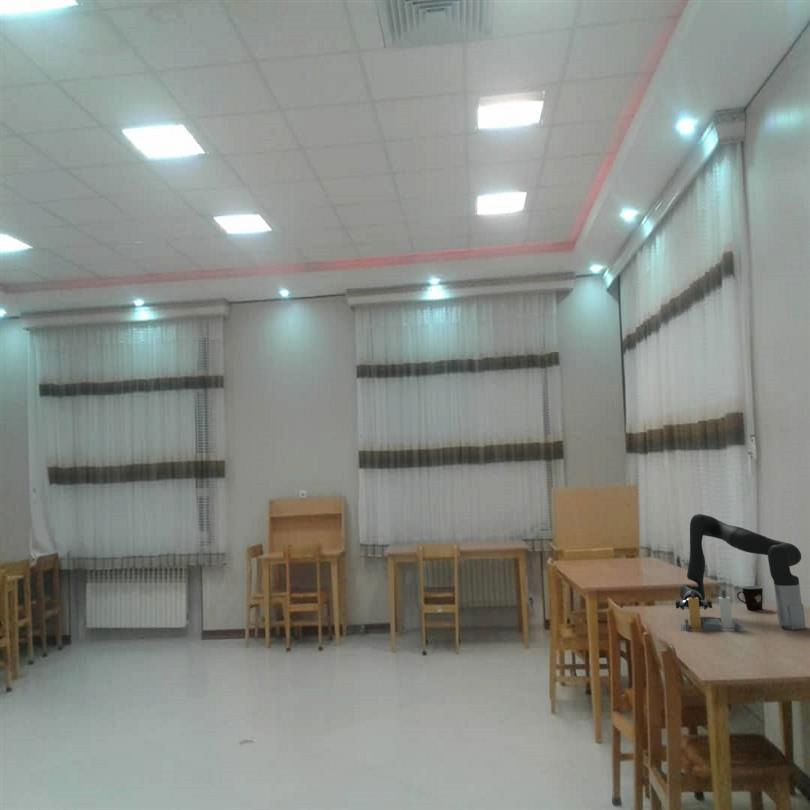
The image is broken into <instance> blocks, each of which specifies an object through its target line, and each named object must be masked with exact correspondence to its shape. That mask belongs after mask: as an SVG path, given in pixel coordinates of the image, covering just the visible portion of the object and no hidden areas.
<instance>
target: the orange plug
mask: <svg viewBox="0 0 810 810" xmlns="http://www.w3.org/2000/svg"><path fill="white" fill-rule="evenodd" d="M688 604H689V609H688V611H689V621H690V625H691V629H702V628H701V625H702V621H701V620H702V619H701V611H700V610H701V608H700V609H699V600H698V597H695V595H694V591H691V597H689V598H688Z"/></svg>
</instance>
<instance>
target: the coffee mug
mask: <svg viewBox="0 0 810 810" xmlns="http://www.w3.org/2000/svg"><path fill="white" fill-rule="evenodd" d="M763 588H764V587H763V586H760V585H745V586H742V587H741V589H742V591H738V592H737V594H736V596H737V599H738V600H739V601H740V602H741V603H743V604H745V606H746V610H747V609H748V610H747V611H749V610H753V611H752V612H760V611H759V610H761V611H762V610H763ZM740 594H743V598H744V600H742V599H741V598H740V596H739V595H740Z"/></svg>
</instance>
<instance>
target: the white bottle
mask: <svg viewBox="0 0 810 810" xmlns="http://www.w3.org/2000/svg"><path fill="white" fill-rule="evenodd" d="M718 603H719V604H718V605H719V613H720V614H719V615H720V620H721V623H720V624H721V625H722V629H733V625H734V622H733V617H732V616H733V615H732V608H731V598H730V596H727V593H726V590H724V589H721V596H719V597H718Z"/></svg>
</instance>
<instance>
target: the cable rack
mask: <svg viewBox="0 0 810 810" xmlns="http://www.w3.org/2000/svg"><path fill="white" fill-rule="evenodd" d="M701 620H702V621H701V622H702V624H701V628H702V629H691V624H689V619H688V618H685V619H684V623H685V624H680V632H745V628H744V626H743V624H739V622H738V619H737V618H732V622H733V629H722V624H721V623H720V619H719V618H702V619H701Z"/></svg>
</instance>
